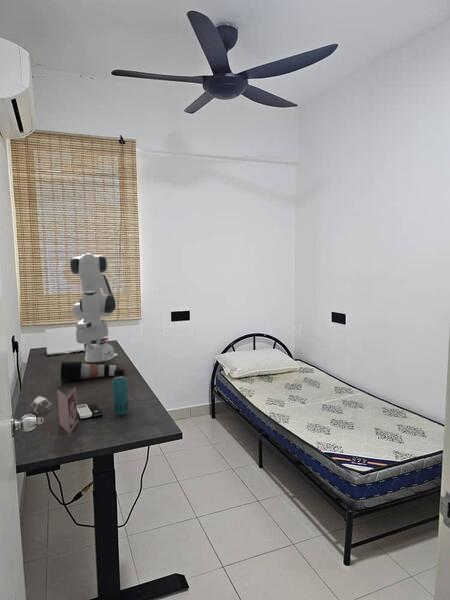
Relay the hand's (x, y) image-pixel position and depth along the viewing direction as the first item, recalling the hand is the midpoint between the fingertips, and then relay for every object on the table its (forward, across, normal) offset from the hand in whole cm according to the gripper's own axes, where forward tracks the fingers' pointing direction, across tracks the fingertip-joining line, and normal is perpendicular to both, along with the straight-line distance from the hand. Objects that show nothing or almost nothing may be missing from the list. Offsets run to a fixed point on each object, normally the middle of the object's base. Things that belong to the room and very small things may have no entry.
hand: (93, 348), depth 210 cm
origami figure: (+20, +35, -1) cm, 40 cm away
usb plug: (+2, 0, 0) cm, 2 cm away
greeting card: (+20, +46, +26) cm, 57 cm away
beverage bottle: (+20, +28, +39) cm, 52 cm away
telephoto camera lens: (+21, -10, -10) cm, 25 cm away
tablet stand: (+21, -53, -75) cm, 94 cm away
